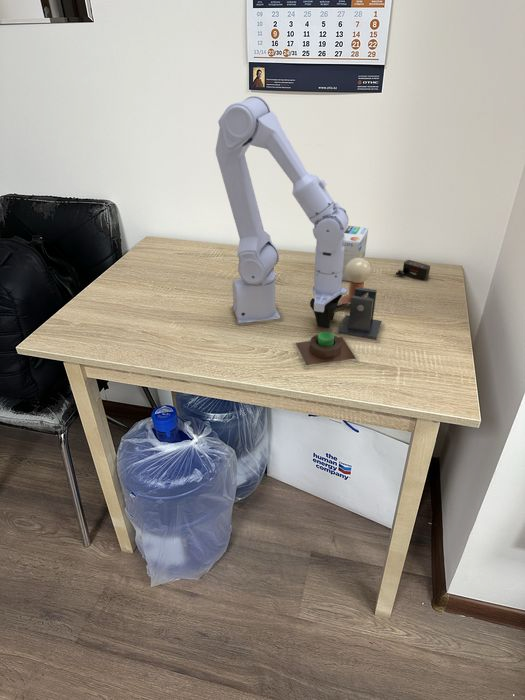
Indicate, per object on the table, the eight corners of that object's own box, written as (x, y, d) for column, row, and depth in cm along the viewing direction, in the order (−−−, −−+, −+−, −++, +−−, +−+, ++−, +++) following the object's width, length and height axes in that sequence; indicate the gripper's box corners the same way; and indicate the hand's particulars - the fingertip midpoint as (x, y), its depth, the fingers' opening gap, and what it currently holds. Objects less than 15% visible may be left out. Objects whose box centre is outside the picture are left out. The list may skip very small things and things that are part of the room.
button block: (306, 367, 100) (307, 356, 99) (295, 345, 106) (296, 334, 105) (355, 360, 102) (356, 349, 100) (341, 339, 108) (342, 328, 107)
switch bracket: (338, 335, 110) (341, 298, 105) (345, 319, 115) (348, 283, 110) (376, 341, 107) (381, 304, 102) (381, 325, 113) (386, 289, 108)
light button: (320, 348, 101) (320, 341, 100) (315, 340, 104) (315, 332, 103) (335, 346, 102) (336, 339, 101) (330, 338, 104) (331, 330, 103)
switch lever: (321, 322, 112) (315, 310, 111) (324, 316, 114) (319, 304, 113) (370, 309, 106) (365, 296, 105) (373, 302, 108) (368, 290, 107)
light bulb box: (340, 262, 140) (343, 224, 134) (364, 266, 138) (369, 227, 132) (329, 278, 132) (332, 238, 126) (355, 282, 130) (359, 242, 124)
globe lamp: (345, 315, 117) (350, 266, 110) (336, 302, 122) (340, 254, 115) (372, 312, 118) (378, 263, 111) (362, 299, 123) (367, 251, 116)
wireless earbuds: (403, 270, 136) (405, 258, 134) (429, 277, 132) (431, 265, 130) (395, 276, 133) (396, 264, 131) (421, 283, 129) (423, 272, 127)
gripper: (340, 286, 99) (335, 345, 107) (355, 257, 111) (350, 312, 118) (304, 281, 101) (302, 339, 109) (322, 253, 113) (319, 308, 120)
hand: (325, 325), depth 114 cm, fingers closed on switch lever, 3 cm apart
